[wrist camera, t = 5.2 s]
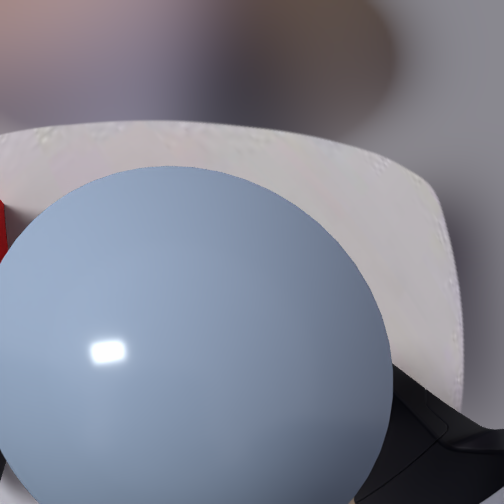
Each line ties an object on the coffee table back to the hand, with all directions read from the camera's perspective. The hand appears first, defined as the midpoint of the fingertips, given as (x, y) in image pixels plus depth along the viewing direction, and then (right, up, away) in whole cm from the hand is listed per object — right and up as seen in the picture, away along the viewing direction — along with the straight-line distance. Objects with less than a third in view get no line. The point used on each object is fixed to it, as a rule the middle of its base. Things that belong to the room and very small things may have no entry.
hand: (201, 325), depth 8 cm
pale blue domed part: (-1, -4, +6) cm, 7 cm away
